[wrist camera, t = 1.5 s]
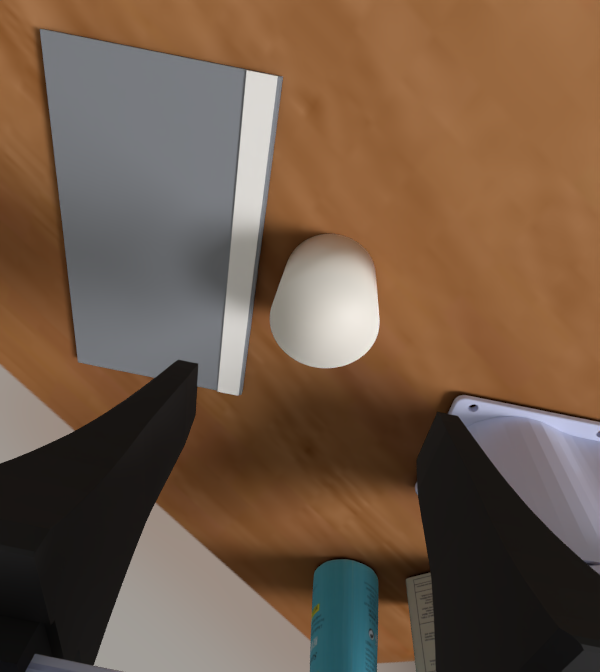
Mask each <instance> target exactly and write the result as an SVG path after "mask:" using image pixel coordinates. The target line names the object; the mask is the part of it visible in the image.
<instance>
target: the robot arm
mask: <svg viewBox="0 0 600 672" xmlns="http://www.w3.org/2000/svg"><path fill="white" fill-rule="evenodd" d="M197 380H198V363H193V362H188V361H183V360H177V361H175V362H174V363H173V364H171V365H170V366H169V367H168V368H166V369H165V370H164V371H163V372H162V373H160V374H159V375H158V376H157V377H155V378H154V379H153V380H151V381H150V382H149V383H148V384H146V385H145V386H144V387H142V388H141V389H140V390H138V391H137V392H135V393H134V394H133V395H131V396H130V397H129V398H127V399H126V400H124V401H123V402H121V403H120V404H118V405H117V406H115V407H114V408H112V409H111V410H109V411H108V412H106V413H105V414H103V415H102V416H100V417H98V418H97V419H95V420H93V421H92V422H90V423H88V424H87V425H85V426H83V427H81V428H79V429H78V430H76V431H74V432H72V433H70V434H69V435H66V436H64V437H62V438H60V439H58V440H56V441H53V442H52V443H49V444H47V445H45V446H43V447H41V448H38V449H36V450H34V451H32V452H29V453H27V454H24V455H22V456H19V457H17V458H14V459H12V460H9V461H6V462H4V463H1V464H0V672H122V671H117V670H112V669H107V668H102V667H98V666H93V665H94V662H95V659H96V656H97V654H98V650H99V648H100V645H101V642H102V639H103V636H104V633H105V630H106V627H107V624H108V622H109V619H110V616H111V613H112V610H113V608H114V605H115V602H116V599H117V597H118V594H119V591H120V588H121V586H122V583H123V580H124V578H125V574H126V572H127V569H128V567H129V564H130V561H131V559H132V556H133V554H134V551H135V548H136V546H137V543H138V541H139V538H140V536H141V533H142V531H143V528H144V526H145V523H146V521H147V518H148V517H149V514H150V512H151V510H152V508H153V506H154V504H155V502H156V500H157V498H158V496H159V494H160V492H161V490H162V488H163V486H164V484H165V483H166V481H167V479H168V477H169V475H170V473H171V471H172V469H173V467H174V465H175V463H176V461H177V459H178V457H179V455H180V453H181V451H182V449H183V447H184V445H185V443H186V440H187V437H188V435H189V432H190V429H191V426H192V423H193V421H194V418H195V414H196V397H197ZM472 404H475V405H476V406H474V407H469V406H470V405H472ZM599 431H600V422H597V421H592V420H587V419H582V418H577V417H572V416H567V415H562V414H557V413H552V412H547V411H542V410H537V409H532V408H527V407H522V406H518V405H513V404H508V403H503V402H498V401H493V400H488V399H483V398H478V397H473V396H468V395H460V396H458V397H456V398H455V400H454V401H453V403H452V406H451V408H450V410H449V412H448V414H446V413H441V412H437V414H436V416H435V419H434V421H433V423H432V426H431V428H430V430H429V432H428V435H427V437H426V439H425V442H424V444H423V446H422V448H421V451H420V453H419V455H418V458H417V483H416V485H415V491H416V494H418V498H419V505H420V511H421V517H422V523H423V529H424V535H425V541H426V547H427V553H428V558H429V565H430V573H431V581H432V596H433V612H434V633H435V662H436V671H435V672H600V432H599ZM598 432H599V433H598Z"/></svg>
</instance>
